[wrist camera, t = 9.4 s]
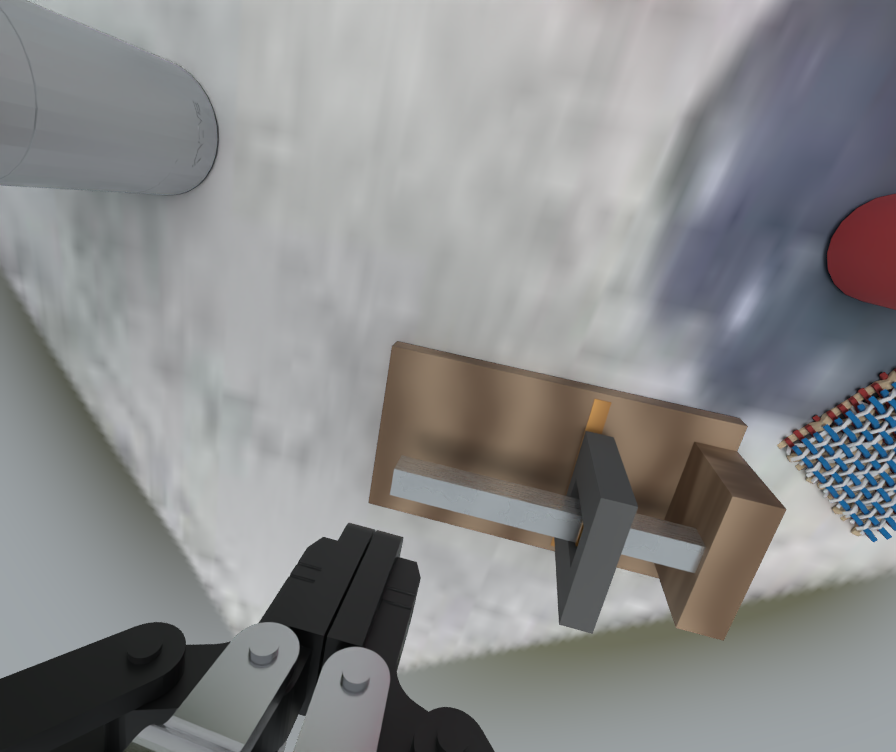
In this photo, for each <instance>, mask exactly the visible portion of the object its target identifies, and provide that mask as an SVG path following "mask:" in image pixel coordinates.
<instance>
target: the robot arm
mask: <svg viewBox="0 0 896 752" xmlns="http://www.w3.org/2000/svg"><path fill="white" fill-rule="evenodd" d="M217 141H218V138H217V124H216V120H215V116H214V112H213V109H212V106H211V104H210V102H209V99H208V97H207V95H206V94H205V92H204V91H203V89H202V88H201V86H200V84H199V83H198V82H197V81H196V80H195V79H194V78H193V77H192V76H191V75H190V73H188V72H187V71H186V70H184V69H183V68H181V67H180V66H179V65H177V64H175V63H173V62H170V61H168V60H166V59H163V58H161V57H159V56H156V55H154V54H152V53H149V52H147V51H145V50H142V49H140V48H138V47H135V46H133V45H131V44H129V43H127V42H124V41H122V40H120V39H117V38H115V37H113V36H110V35H108V34H105V33H103V32H101V31H98V30H96V29H94V28H91V27H89V26H86V25H84V24H82V23H79V22H77V21H75V20H72V19H70V18H67V17H65V16H63V15H60V14H58V13H56V12H53V11H51V10H48V9H46V8H44V7H41V6H39V5H37V4H34V3H32V2H30V1H27V0H0V185H2V186H20V187H37V188H55V189H73V190H90V191H108V192H125V193H141V194H159V195H177V194H181V193H184V192H188V191H189V190H191V189H193V188H194V187H196V186H197V185H198V184H199V183H200V182H201V181H202V180H203V179H204V178H205V177H206V176H207V174H208V172H209V170H210V169H211V167H212V164H213V161H214V158H215V155H216V149H217ZM402 543H403V537H400V536H397V535H393V534H389V533H386V532H382V531H378V530H377V531H376V532H375V530H374V529H370V528H366V527H363V526H359V525H355V524H352V523H348V524H347V526H346V527H345V529H344V531H343V532H342V534H341V536H340V538H339V540H338V541H337V540H333V539H329V538H325V537H322V538H321V539H319V540H318V541H316V542H315V543H313V544H312V545H310V546H309V547H308V548H307V549H306V551H305V552H304V554H303V555H302V557H301V558H300V560H299V562H298V564H297V565H296V566H295V568H294V569H293V571H292V572H291V574H290V577H288V579H287V580H286V582H285V583H284V585H283V586H282V588H281V589H280V591H279V592H278V594H277V596H276V597H275V599H274V600H273V602H272V603H271V605H270V606H269V608H268V610H267V611H266V613H265V614H264V616H263V617H262V619H261V620H260V622H259V623H258V624H254V625H252V626H249V627H247V628H245V629H244V630H242V631H241V632H240V633H238V634H237V635H236V636H235V637H234V638H233V640H232V641H230V642H227V643H222V644H205V645H186V641H185V637H184V635H183V633H182V631H181V630H179V629H178V628H177V627H175V626H173V625H171V624H168V623H162V622H154V623H146V624H142V625H139V626H136V627H133V628H130V629H128V630H125V631H123V632H120V633H117V634H115V635H112V636H110V637H107V638H104V639H102V640H99V641H97V642H94V643H92V644H89V645H87V646H84V647H81V648H79V649H76V650H74V651H71V652H68V653H66V654H63V655H61V656H58V657H56V658H53V659H50V660H48V661H45V662H43V663H40V664H37V665H35V666H32V667H30V668H27V669H24V670H22V671H19V672H17V673H14V674H12V675H9V676H6V677H4V678H1V679H0V752H284V750H285V746H286V741H287V738H288V736H289V734H290V732H291V729H292V728H293V725H294V723H295V721H296V719H297V716H298V714H300V715H303V716H305V719H304V722H303V725H302V728H301V731H300V734H299V736H298V739H297V742H296V745H295V748H294V751H293V752H494V750H493V748H492V746H491V745H490V743H489V741H488V740H487V738H486V736H485V734H484V732H483V731H482V729H481V728H480V726H479V725H478V723H477V722H476V721H475V720H474V719H473V718H472V717H471V716H469V715H468V714H466V713H465V712H463V711H461V710H458V709H455V708H451V707H441V708H437V709H434V710H432V711H429V712H428V711H426V710H425V709H424V708H422V707H421V706H419V705H418V704H416V703H415V702H414V701H412V700H411V699H410V698H409V697H408V696H407V695H406V693H405V692H404V690H403V689H402V687H401V685H400V683H399V680H398V677H397V669H398V665H399V662H400V658H401V654H402V651H403V647H404V644H405V640H406V636H407V633H408V629H409V625H410V622H411V617H412V613H413V609H414V604H415V600H416V596H417V592H418V587H419V583H420V579H421V578H420V574H419V569H418V565H417V562H414V561H411V560H407V559H403V558H400V552H401V548H402Z"/></svg>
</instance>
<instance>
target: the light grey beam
mask: <svg viewBox="0 0 896 752" xmlns="http://www.w3.org/2000/svg"><path fill="white" fill-rule="evenodd" d="M390 495H392V496H396V497H400V498H404V499H408V500H412V501H416V502H419V503H423V504H427V505H431V506H435V507H439V508H443V509H447V510H451V511H455V512H458V513H462V514H466V515H470V516H474V517H478V518H482V519H486V520H490V521H493V522H497V523H501V524H505V525H509V526H513V527H517V528H521V529H525V530H528V531H532V532H536V533H540V534H544V535H548V536H552V537H556V538H560V539H564V540H567V541H571V542H575V545H576V546H577V547H578V543H579V540H580V537H581V534H582V531H583V528H584V526H583V519H582V513H581V506H580V500H579V499H576V498H572V497H568V496H564V495H560V494H556V493H552V492H548V491H544V490H540V489H536V488H532V487H528V486H524V485H520V484H516V483H512V482H508V481H504V480H500V479H496V478H492V477H488V476H484V475H480V474H476V473H472V472H468V471H463V470H459V469H455V468H451V467H447V466H443V465H439V464H435V463H431V462H427V461H423V460H419V459H415V458H411V457H407V456H403V455H402V456H401V458H400V459H399V461H398V463H397V465H396V467H395V468H394V473H393V479H392V485H391V491H390ZM705 548H706V546H705V544H704V543H703V541H702V539H701V537H700V535H699V533H698V531H697V529H696V528H693V527H689V526H685V525H681V524H677V523H673V522H669V521H665V520H661V519H657V518H653V517H649V516H645V515H641V514H637V513H636V514H635V517H634V520H633V523H632V526H631V528H630V531H629V534H628V537H627V539H626V542H625V545H624V548H623V550H622V553H621V554H622V555H626V556H630V557H634V558H638V559H641V560H645V561H649V562H653V563H657V564H661V565H665V566H669V567H673V568H676V569H680V570H684V571H688V572H692V573H695V572H696V569H697V567H698V565H699V562H700V560H701V558H702V555H703V553H704V551H705Z"/></svg>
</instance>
